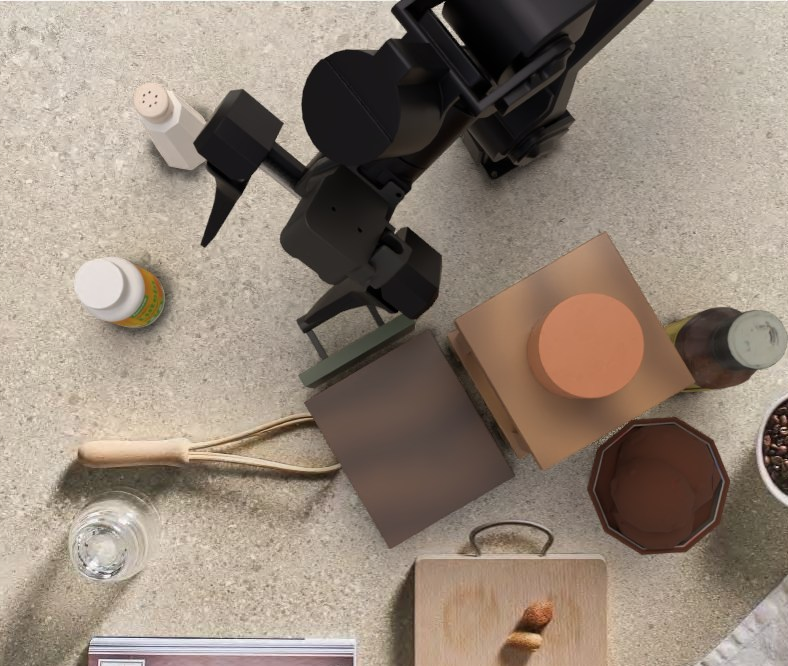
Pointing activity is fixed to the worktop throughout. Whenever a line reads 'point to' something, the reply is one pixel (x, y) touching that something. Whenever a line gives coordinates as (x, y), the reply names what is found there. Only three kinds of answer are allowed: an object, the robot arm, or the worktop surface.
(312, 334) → the drawer
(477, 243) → the worktop surface
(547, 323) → the tin
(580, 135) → the worktop surface
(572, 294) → the square box with cylinder
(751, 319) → the sauce bottle
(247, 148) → the robot arm
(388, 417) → the cabinet
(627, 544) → the brown polygonal jar
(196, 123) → the salt shaker
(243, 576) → the worktop surface
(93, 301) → the supplement bottle
